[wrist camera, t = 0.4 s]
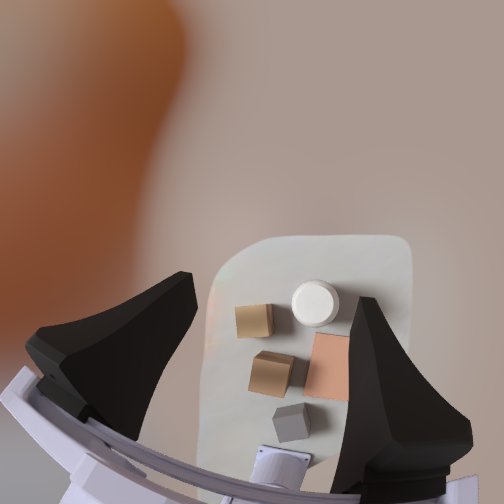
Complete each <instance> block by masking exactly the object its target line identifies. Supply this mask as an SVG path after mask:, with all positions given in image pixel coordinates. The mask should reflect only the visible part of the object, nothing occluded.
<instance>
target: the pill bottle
mask: <svg viewBox="0 0 504 504" xmlns="http://www.w3.org/2000/svg"><path fill="white" fill-rule="evenodd" d="M292 310H293V313H294V315H295V317H296V319H297V320H298V321H299V322H300V323H302V324H303V325H305V326H308V327H313V328H318V327H323V326H325V325H327V324H329V323H330V322H331V321H332V320H333V319H334V318H335V317H336V315H337V313H338V311H339V297H338V294H337V292H336V290H335V289H334V288H333V287H332V286H331V285H330V284H329V283H327V282H325V281H322V280H310V281H307V282H305V283H303V284H302V285H300V286H299V287H298V288H297V290H296V291H295V293H294V295H293V298H292Z"/></svg>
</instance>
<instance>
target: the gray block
mask: <svg viewBox="0 0 504 504" xmlns="http://www.w3.org/2000/svg"><path fill="white" fill-rule="evenodd" d="M272 420H273V423H274V426H275V430H276V433H277V436H278V440H279V443H282V442H288V441H294V440H300V439H305V438H309V434H310V428H311V424H310V421H309V417H308V413H307V409H306V406H305V403H300V404H296V405H291V406H286V407H281V408H277V410H276V412H275V414H274V416H273V418H272Z"/></svg>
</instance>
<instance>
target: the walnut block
mask: <svg viewBox="0 0 504 504" xmlns="http://www.w3.org/2000/svg"><path fill="white" fill-rule="evenodd" d="M294 357H295V356H289V355H284V354H278V353H273V352H267V351H261V352H260V353H259V354H258V355H257V356H255V357H254V360H253V365H252V371H251V377H250V383H249V388H248V391H252V392H256V393H261V394H265V395H270V396H275V397H280V398H284V396H285V393H286V391H287V389H288V386H289V382H290V377H291V372H292V367H293V362H294Z"/></svg>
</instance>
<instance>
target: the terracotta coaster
mask: <svg viewBox="0 0 504 504" xmlns="http://www.w3.org/2000/svg"><path fill="white" fill-rule="evenodd" d="M349 339H350V337H346V336H338V335H330V334H323V333H316V334H315V339H314V345H313V350H312V355H311V360H310V365H309V370H308V375H307V379H306V384H305V388H304V393H303V395H305V396H311V397H318V398H325V399H333V400H342V401H348V400H349V368H348V351H349Z"/></svg>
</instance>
